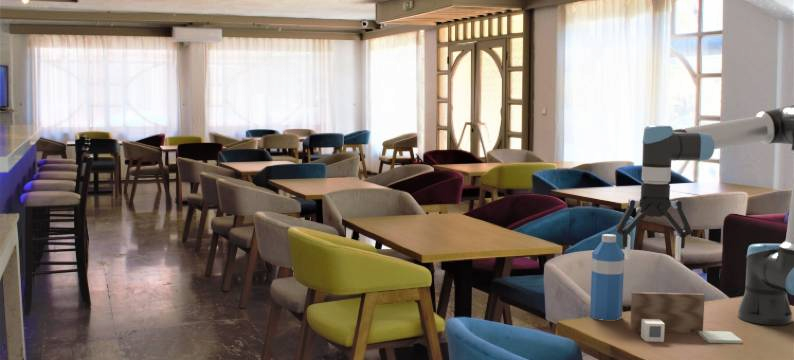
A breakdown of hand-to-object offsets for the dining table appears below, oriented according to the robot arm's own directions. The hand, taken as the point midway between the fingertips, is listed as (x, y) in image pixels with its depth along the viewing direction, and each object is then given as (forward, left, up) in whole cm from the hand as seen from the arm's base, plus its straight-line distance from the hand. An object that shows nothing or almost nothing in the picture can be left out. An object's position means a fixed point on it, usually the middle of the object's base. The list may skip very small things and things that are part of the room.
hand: (652, 259), depth 239 cm
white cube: (-1, +1, -22) cm, 22 cm away
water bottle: (+7, -22, -22) cm, 32 cm away
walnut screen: (-7, -7, -22) cm, 24 cm away
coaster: (-20, -1, -22) cm, 29 cm away
